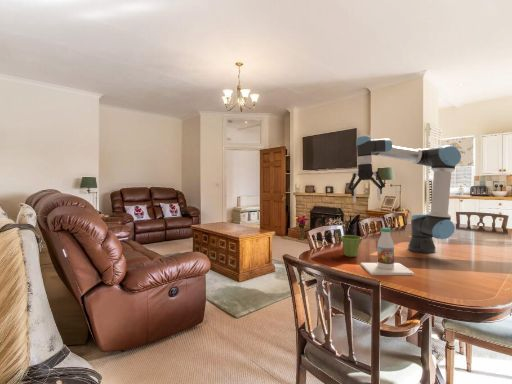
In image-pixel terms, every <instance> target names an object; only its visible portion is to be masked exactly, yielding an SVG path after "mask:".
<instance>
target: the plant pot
mask: <svg viewBox="0 0 512 384" xmlns="http://www.w3.org/2000/svg"><path fill="white" fill-rule="evenodd" d="M340 238H341V242H342V247H343V253H344V256H346V257H349V258H352V257H357V256H358V254H359V253H358V252H359V246H360V242H361V239H362V237H361V236H358V235H353V234H352V235H350V234H348V235H345V234H344V235H341V236H340Z"/></svg>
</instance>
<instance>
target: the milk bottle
mask: <svg viewBox="0 0 512 384" xmlns="http://www.w3.org/2000/svg"><path fill="white" fill-rule="evenodd" d="M391 231H392V229H391V228H390V227H381V228H380V237H379V238H378V241H377V245H376V247H377V250H376V251H377V253H376V254H377V256H376V257H377V258H376V260H377V262H376V263H377V266H378V267H379V268H382V269H393V268H394V263H395V245H394V240H393V239H392V236H391Z"/></svg>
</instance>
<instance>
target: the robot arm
mask: <svg viewBox="0 0 512 384" xmlns="http://www.w3.org/2000/svg"><path fill="white" fill-rule="evenodd" d="M355 145H356V154H357V155H356V157H357V164H358V165H357V173H356V172H353V173H352V174H351V175H352V177H351V180H350V181H349V184H348V186H347V190H350V194H351V197H352V201H353V202H354V203H356V202H357V198H356V197H357V196H356V195H357V194H356V190H355V189H356V188H357V186H358V185H359V184H360V183H361V181H371V182H372V183H373V184H374V185H375V186H376V187H377V189H376V192H377V193H376V194H377V201H381V199H382V198H381V195H382V194H383V188H386V185H385V182H384V181H383V180H382V178H381V176H380V172H379V171H378V170H377V171H373V161H372V160H373V159H372V157H373V156H378V157H382V158H387V159H388V158H389V159H394V160H402V161H406V162H412V163H413V164H415V165H419V166H426V167H430V168H431V170H432V171H433V179H432V191H431V192H432V193H431V205H430V212H429V213H425V214H424V213H423V214H413V215H411V219H410V221H411V222H410V223H411V225H410V227H411V229H410V230H411V233H410V235H411V236H410V240H409V242H408V245H407V249H408V250H409V251H412V252H416V253H421V254H422V253H424V254H431V253H433V254H434V253H436V245H435V243H434V239H436V240H447V239H450V238H451V237H452V236H453V235H454V233H455V231H456V227H455V226H456V225H455V223H454V222H453V221H452V219H451V218H452V216H451V215H450V214H449V204H450V194H451V193H450V192H451V181H452V172H454V171H455V169H456V166H457V165H458V164H459V163H460V162H461V160H462V154H461V151H460V150H459V148H458V147H456V146H454V145H441V146H436V147H430V148H419V147H418V148H415V149H414V148H408V147H403V146H402V147H401V146H398V145H397V146H396V145H393V141H392V140H391V139H390V138H375V139H372V138H371V136H370V135H362V136H358V137H357V138H356V144H355ZM357 176H358V178H357V180H356V177H357ZM373 176H375V178H376V179H375V178H374V177H373ZM355 180H356V181H355ZM354 182H355V183H354Z"/></svg>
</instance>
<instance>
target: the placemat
mask: <svg viewBox="0 0 512 384" xmlns="http://www.w3.org/2000/svg"><path fill="white" fill-rule="evenodd" d="M360 266H361V267H362V268H363V269H364V270H365V271H366V272H367V273H369V275H371V276H415V272H413V271H412V270H410V269H409V268H408V267H406V266H404V265H403V264H401V263H400V262H394V268H393V269H382V268H379V267H378V266H377V262H360Z"/></svg>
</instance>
